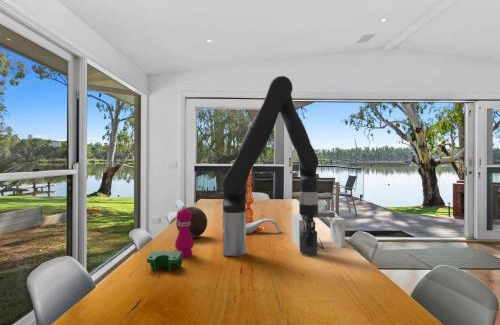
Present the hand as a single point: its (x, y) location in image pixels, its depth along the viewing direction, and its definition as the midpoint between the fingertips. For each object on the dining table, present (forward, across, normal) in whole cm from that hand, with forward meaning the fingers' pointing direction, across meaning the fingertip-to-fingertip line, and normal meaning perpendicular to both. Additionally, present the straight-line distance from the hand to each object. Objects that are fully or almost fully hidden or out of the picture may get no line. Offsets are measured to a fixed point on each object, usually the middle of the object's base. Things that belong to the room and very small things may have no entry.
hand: (308, 244), depth 157 cm
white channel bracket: (+4, -18, +8) cm, 20 cm away
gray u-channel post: (+3, 0, 0) cm, 3 cm away
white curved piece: (+4, -46, -17) cm, 50 cm away
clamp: (+4, +18, -55) cm, 58 cm away
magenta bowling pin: (+4, -1, -50) cm, 50 cm away
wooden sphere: (+4, -35, -50) cm, 61 cm away
